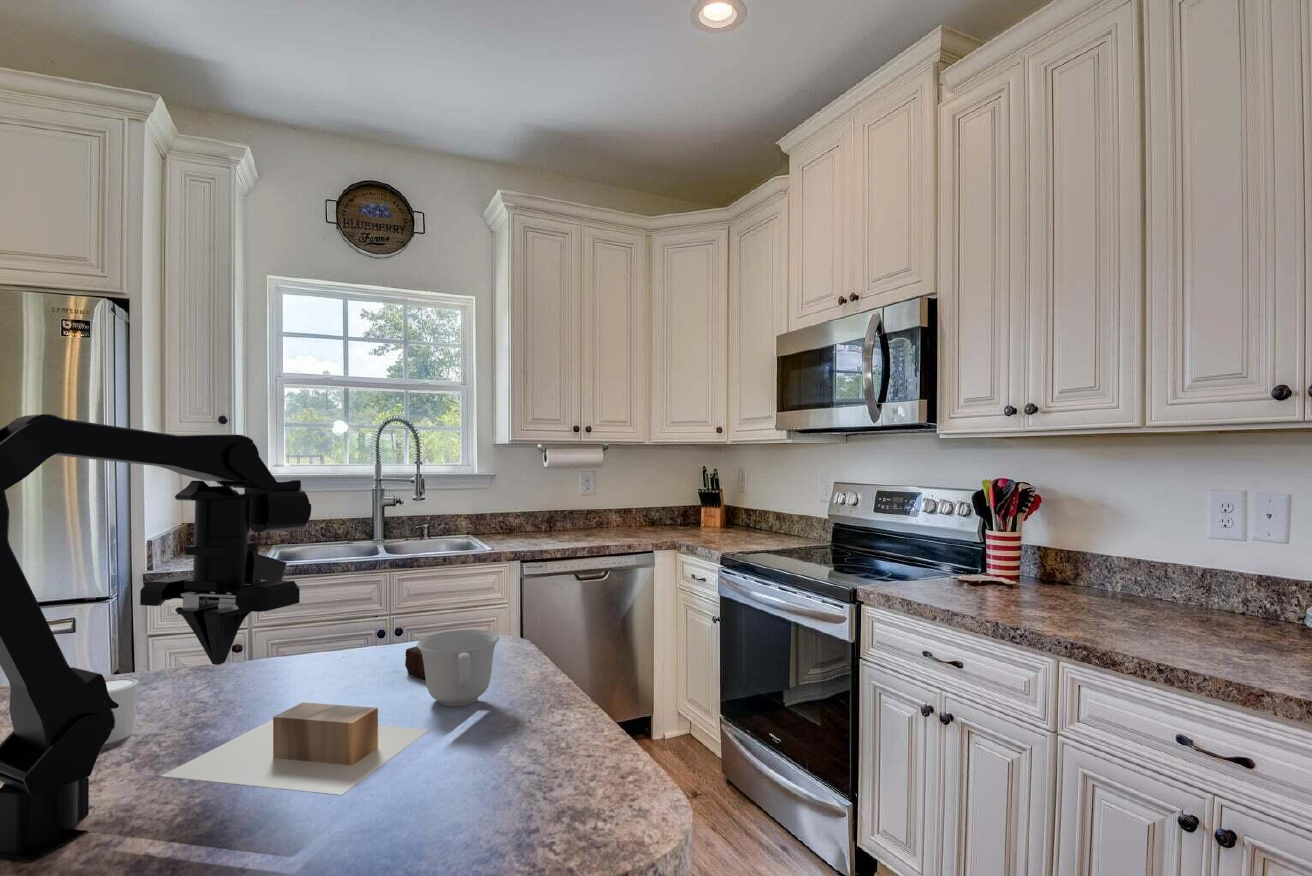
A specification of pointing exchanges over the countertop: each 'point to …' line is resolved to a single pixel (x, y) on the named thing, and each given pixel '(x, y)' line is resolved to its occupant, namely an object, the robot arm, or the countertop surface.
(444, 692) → the teacup
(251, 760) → the cutting board
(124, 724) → the white tapered cup
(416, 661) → the brick
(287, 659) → the countertop surface
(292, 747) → the walnut block
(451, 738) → the countertop surface
